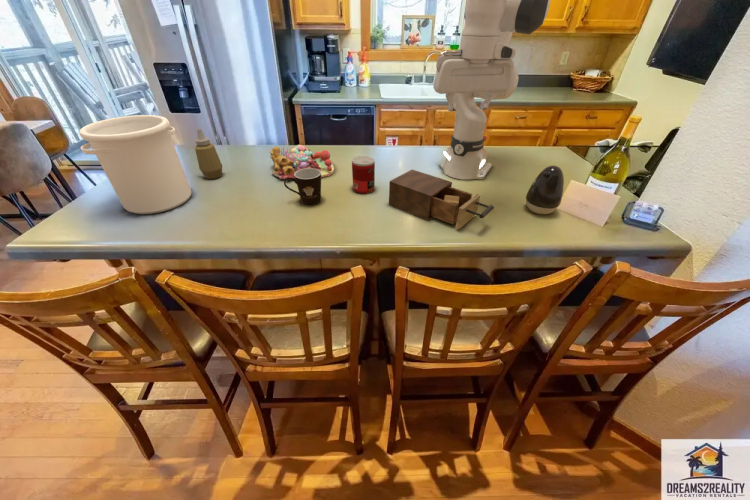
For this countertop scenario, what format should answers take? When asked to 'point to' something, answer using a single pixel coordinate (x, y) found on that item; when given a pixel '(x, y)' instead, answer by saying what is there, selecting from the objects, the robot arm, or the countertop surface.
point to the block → (452, 200)
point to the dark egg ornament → (546, 191)
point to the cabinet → (415, 192)
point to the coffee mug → (307, 185)
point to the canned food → (363, 174)
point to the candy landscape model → (300, 161)
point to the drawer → (448, 210)
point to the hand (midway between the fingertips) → (467, 110)
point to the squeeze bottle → (207, 157)
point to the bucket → (139, 161)
